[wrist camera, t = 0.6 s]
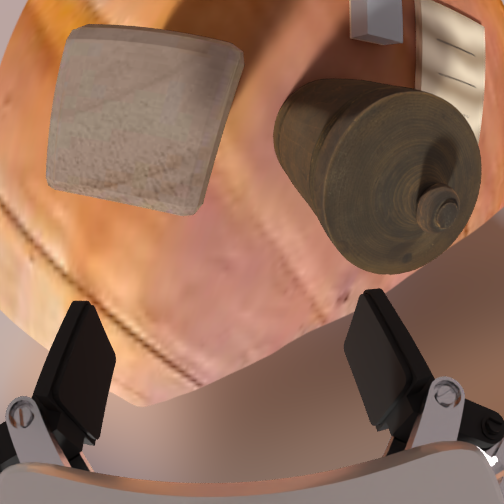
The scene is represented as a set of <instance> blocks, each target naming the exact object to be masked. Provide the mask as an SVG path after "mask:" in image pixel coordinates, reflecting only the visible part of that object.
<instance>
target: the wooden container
mask: <svg viewBox="0 0 504 504" xmlns="http://www.w3.org/2000/svg"><path fill="white" fill-rule="evenodd" d="M273 140H274V148H275V152H276V155H277V158H278V160H279V162H280V164H281V166H282V168H283V169H284V171H285V172H286V174H287V175H288V177H289V179H290V180H291V182H292V184H293V185H294V186H295V188H296V189H297V190H298V192H299V193H300V194H301V196H302V197H303V198H304V199H305V201H306V202H307V203H308V205H309V206H310V207H311V209H312V210H313V212H314V213H315V215H316V216H317V217H318V219H319V221H320V223H321V225H322V227H323V229H324V230H325V232H326V234H327V235H328V237H329V238H330V240H331V241H332V243H333V244H334V245H335V247H336V248H337V249H338V251H339V252H340V253H341V254H342V255H343V256H344V257H345V258H346V259H347V260H348V261H349V262H351V263H352V264H353V265H355V266H357V267H358V268H360V269H363V270H365V271H368V272H372V273H376V274H390V275H391V274H400V273H404V272H409V271H412V270H415V269H418V268H420V267H422V266H424V265H426V264H427V263H429V262H431V261H432V260H434V259H435V258H437V257H438V256H439V255H441V254H442V253H443V252H444V251H445V250H446V249H448V248H449V246H450V245H451V244H452V243H453V242H454V241H455V240H456V238H457V237H458V236H459V234H460V233H461V232H462V230H463V229H464V227H465V226H466V224H467V222H468V220H469V218H470V216H471V214H472V212H473V209H474V207H475V204H476V201H477V198H478V194H479V189H480V184H481V156H480V150H479V146H478V142H477V140H476V137H475V134H474V132H473V130H472V128H471V126H470V125H469V123H468V121H467V120H466V119H465V117H464V116H463V115H462V113H461V112H460V111H459V110H458V109H457V108H456V107H454V106H453V105H452V104H451V103H449V102H448V101H446V100H444V99H443V98H441V97H439V96H436V95H434V94H431V93H428V92H425V91H421V90H417V89H412V88H406V87H398V86H393V85H387V84H381V83H376V82H371V81H364V80H353V79H321V80H317V81H313V82H310V83H308V84H306V85H304V86H302V87H301V88H299V89H298V90H296V91H295V92H294V93H293V94H292V95H291V96H290V97H289V98H288V99H287V100H286V101H285V103H284V104H283V106H282V107H281V109H280V111H279V113H278V116H277V119H276V122H275V126H274V134H273Z"/></svg>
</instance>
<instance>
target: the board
mask: <svg viewBox="0 0 504 504" xmlns="http://www.w3.org/2000/svg"><path fill="white" fill-rule="evenodd" d="M414 2H415V20H416V72H415V89H417V90H421V91H425V92H428V93H431V94H434V95H436V96H439V97H441V98H443V99H444V100H446V101H448V102H449V103H451V104H452V105H453V106H454V107H456V108H457V109H458V110H459V111H460V112H461V113H462V115H463V116H464V117H465V119H466V120H467V121H468V123H469V125H470V126H471V128H472V130H473V132H474V134H475V137H476V140H477V142H478V143H479V136H480V129H481V121H482V112H483V101H484V87H485V29H484V27H483V26H482V25H480V24H478V23H476V22H475V21H473V20H471V19H469V18H467V17H465V16H464V15H462V14H460V13H458V12H456V11H454V10H452V9H450V8H447V7H445V6H443V5H441V4H439V3H437V2H434V1H432V0H414Z"/></svg>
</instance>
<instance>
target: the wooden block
mask: <svg viewBox="0 0 504 504" xmlns="http://www.w3.org/2000/svg"><path fill="white" fill-rule="evenodd" d="M243 68H244V56H243V51H242V50H240V49H239V48H238V47H236V46H235V45H233V44H232V43H229V42H225V41H221V40H217V39H212V38H208V37H203V36H198V35H193V34H187V33H182V32H176V31H169V30H162V29H154V28H146V27H136V26H123V25H103V24H87V25H85V26H82V27H80V28H77V29H74V30H72V32H71V33H70V35H69V37H68V38H67V40H66V44H65V48H64V52H63V56H62V60H61V64H60V68H59V73H58V78H57V83H56V88H55V93H54V99H53V106H52V112H51V120H50V128H49V138H48V149H47V164H46V179H47V182H48V185H49V186H50V187H52V188H53V189H55V190H59V191H65V192H70V193H75V194H80V195H85V196H90V197H95V198H100V199H105V200H109V201H114V202H119V203H124V204H129V205H133V206H138V207H143V208H148V209H152V210H157V211H162V212H166V213H171V214H176V215H180V216H187V215H194V214H195V213H196V212H197V210H198V209H199V208H200V207H201V205H202V204H203V201H204V198H205V194H206V190H207V186H208V183H209V179H210V175H211V172H212V168H213V165H214V161H215V158H216V154H217V151H218V147H219V144H220V140H221V137H222V134H223V130H224V127H225V124H226V120H227V117H228V114H229V111H230V108H231V104H232V101H233V98H234V95H235V92H236V89H237V86H238V83H239V80H240V77H241V74H242V71H243Z"/></svg>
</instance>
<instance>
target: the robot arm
mask: <svg viewBox="0 0 504 504" xmlns="http://www.w3.org/2000/svg"><path fill="white" fill-rule="evenodd" d="M344 352H345V355H346V357H347V360H348V362H349V365H350V368H351V370H352V373H353V376H354V378H355V381H356V384H357V386H358V389H359V392H360V395H361V397H362V400H363V403H364V406H365V408H366V411H367V414H368V417H369V420H370V422H371V424H372V425H374V426H376V429H377V431H381V430H385V429H388V428H389V431H390V433H391V437H390V440H389V442H388V444H387V447H386V449H385V451H384V454H383V456H382V458H378V459H375V460H371V461H367V462H363V463H360V464H356V465H352V466H348V467H344V468H339V469H335V470H330V471H325V472H320V473H315V474H310V475H304V476H297V477H290V478H283V479H274V480H265V481H254V482H238V483H175V482H161V481H150V480H140V479H132V478H125V477H119V476H112V475H106V474H100V473H95V472H94V470H93V469H92V467H91V465H90V464H89V462H88V460H87V459H86V457H85V456H84V454H83V452H82V448H83V444H88V445H93V446H94V445H95V441H96V439H99V437H100V433H101V427H102V422H103V417H104V412H105V406H106V402H107V397H108V392H109V388H110V384H111V379H112V375H113V371H114V367H115V363H116V356H115V353H114V350H113V348H112V346H111V344H110V342H109V340H108V337H107V335H106V333H105V330H104V328H103V326H102V323H101V321H100V319H99V316H98V314H97V311H96V309H95V307H94V306H93V305H91V304H90V302H89V301H73V302H72V303H71V305H70V307H69V309H68V311H67V314H66V316H65V318H64V320H63V322H62V324H61V326H60V329H59V331H58V333H57V335H56V337H55V340H54V342H53V344H52V346H51V349H50V351H49V354H48V356H47V358H46V361H45V363H44V366H43V369H42V371H41V374H40V376H39V379H38V382H37V385H36V387H35V390H34V393H33V396H32V399H31V398H30V397H27V396H20V397H18V398H15V399H14V400H13V401H12V402H11V403H10V404H9V405H8V408H7V410H6V416H5V417H6V421H5V422H3V423H2V424H0V504H504V420H503V418H502V417H501V416H500V415H499V414H498V413H497V412H495V411H493V410H491V409H488V408H486V407H483V406H481V405H479V404H476V403H474V402H471V401H469V400H467V399H465V394H464V390H463V388H462V387H461V385H460V384H459V383H458V382H457V381H456V380H454V379H452V378H450V377H439V378H437V379H434V377H433V375H432V373H431V371H430V369H429V367H428V366H427V364H426V362H425V360H424V358H423V356H422V355H421V353H420V351H419V349H418V348H417V346H416V344H415V342H414V341H413V339H412V337H411V335H410V334H409V332H408V330H407V329H406V327H405V326H404V324H403V323H402V321H401V319H400V318H399V316H398V314H397V313H396V311H395V309H394V308H393V306H392V304H391V303H390V301H389V300H388V298H387V296H386V295H385V293H384V292H383V290H382V289H380V288H379V289H368V290H365V291H364V293H363V294H361V295H360V296H359V299H358V303H357V306H356V309H355V312H354V316H353V319H352V322H351V325H350V328H349V331H348V334H347V337H346V340H345V343H344Z"/></svg>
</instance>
